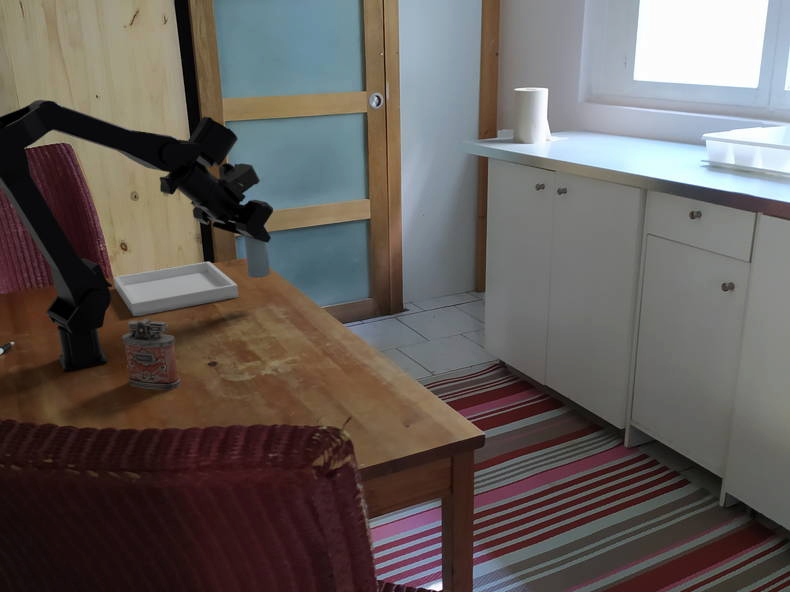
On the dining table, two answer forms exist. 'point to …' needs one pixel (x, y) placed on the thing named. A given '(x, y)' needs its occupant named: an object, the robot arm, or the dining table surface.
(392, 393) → the dining table surface
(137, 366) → the lighter
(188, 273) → the tray
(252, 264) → the dowel
